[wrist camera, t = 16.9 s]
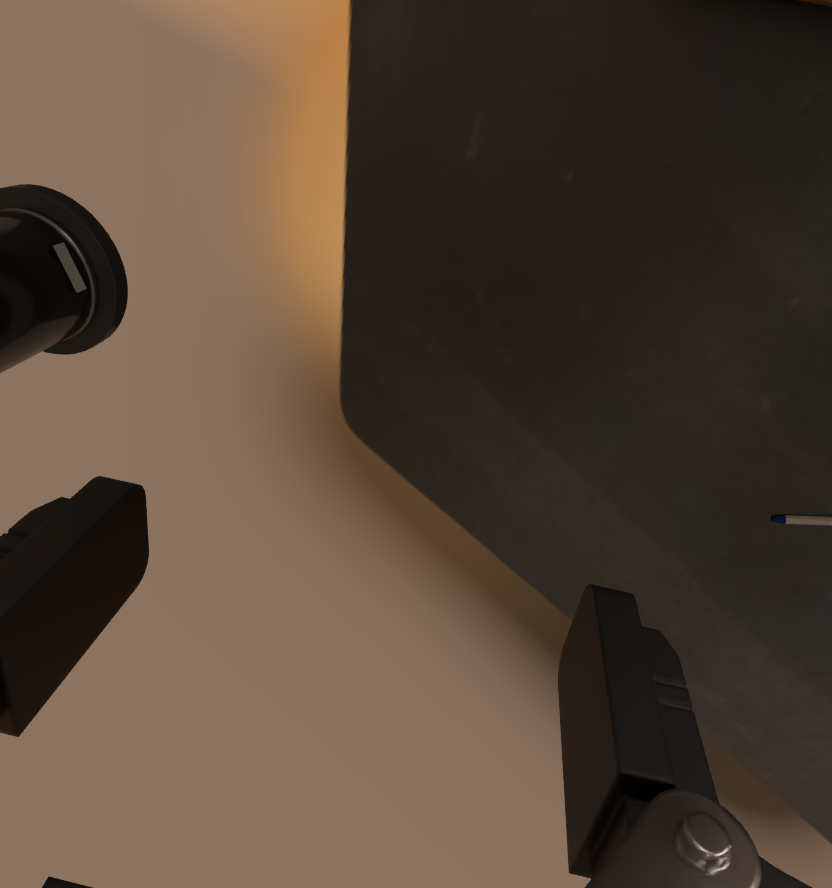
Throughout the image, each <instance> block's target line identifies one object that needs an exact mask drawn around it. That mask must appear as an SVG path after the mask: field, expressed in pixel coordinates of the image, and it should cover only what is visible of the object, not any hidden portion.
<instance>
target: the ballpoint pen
mask: <svg viewBox="0 0 832 888" xmlns="http://www.w3.org/2000/svg"><path fill="white" fill-rule="evenodd" d="M771 521H773V522H778V523H783V524H809V525H832V517H830V516H799V515H780V516H772V517H771Z"/></svg>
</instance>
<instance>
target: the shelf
mask: <svg viewBox="0 0 832 888" xmlns="http://www.w3.org/2000/svg"><path fill="white" fill-rule="evenodd" d="M797 1H803V2H809V3H815V4H821V5H827V6H832V0H797Z"/></svg>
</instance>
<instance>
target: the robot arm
mask: <svg viewBox="0 0 832 888" xmlns="http://www.w3.org/2000/svg"><path fill="white" fill-rule="evenodd" d="M98 303H99V287H98V281H97V276H96V273H95V270H94V268H93V265H92V263H91V261H90V259H89V257H88V255H87V253H86V251H85V250H84V248H83V247H82V246H81V244H80V243H79V242H78V240H77V239H76V238H75V237H74V236H73V235H72V234H71V233H70V232H69V231H68V230H67V229H66V228H65V227H64V226H63V225H61V224H60V223H59V222H57V221H56V220H54V219H53V218H51V217H49V216H48V215H45V214H43V213H41V212H38V211H36V210H32V209H29V208H22V207H11V208H5V209H1V210H0V373H2V372H3V371H5V370H7V369H9V368H11V367H13V366H15V365H16V364H19V363H20V362H23V361H24V360H26V359H28V358H30V357H32V356H34V355H36V354H38V353H40V352H42V351H44V350H46V349H48V348H49V347H51V346H53V345H55V344H57V343H59V342H61V341H64V340H67V339H70V338H72V337H74V336H76V335H77V334H79V333H81V332H82V331H84V330H85V329H86V328H87V327H88V326H89V325H90V323H91V322H92V320H93V319H94V317H95V314H96V312H97V308H98ZM148 557H149V544H148V527H147V509H146V495H145V490H144V488H143V487H142V486H141V485H138V484H134V483H129V482H125V481H120V480H116V479H111V478H106V477H102V476H98V477H95V478H94V479H92V480H91V481H90V482H88V483H87V484H86V485H85V486H84V487H83V488H82V489H81V490H79V491H78V493H76V494H75V495H74V496H73V497H72V498H70V499H68V498H64V497H61V498H58V499H56V500H54V501H52V502H49V503H47V504H45V505H43V506H41V507H38V508H36V509H34V510H32V511H30V512H29V513H28V514H27V515H26V516H24V517H23V518H22V519H21V520H19V521H18V522H17V523H16V524H15V525H14V526H13V527H11V528H10V529H9V531H8V533H7V534H3V535H2V536H0V733H4V734H8V735H12V736H17V737H19V736H20V734H21V733H22V732H23V731H24V729H25V728H26V727H27V726H28V724H29V723H30V722H31V721H32V719H33V718H34V717H35V715H36V714H37V713H38V712H39V710H40V709H41V708H42V707H43V705H44V704H45V703H46V702H47V700H48V699H49V698H50V697H51V695H52V694H53V693H54V691H55V690H56V689H57V687H58V686H59V685H60V684H61V682H62V681H63V680H64V679H65V678H66V676H67V675H68V674H69V672H70V671H71V670H72V669H73V667H74V666H75V665H76V664H77V662H78V661H79V660H80V659H81V657H82V656H83V655H84V653H85V652H86V651H87V649H88V648H89V647H90V646H91V645H92V643H93V642H94V641H95V640H96V638H97V637H98V636H99V635H100V633H101V632H102V631H103V629H104V628H105V627H106V626H107V624H108V623H109V622H110V621H111V619H112V618H113V617H114V615H115V614H116V613H117V612H118V610H119V609H120V608H121V607H122V605H123V604H124V603H125V602H126V600H127V599H128V598H129V596H130V595H131V594H132V593H133V592H134V590H135V589H136V588H137V586H138V585H139V583H140V581H141V580H142V578H143V575H144V573H145V570H146V567H147V563H148ZM685 685H686V682H685V678H684V675H683V671H682V667H681V664H680V660H679V657H678V655H677V654H676V652H675V651H674V650H673V648H672V647H671V645H670V644H669V643H668V641H667V640H666V638H665V637H664V636H663V634H662V633H661V632H660V630H656V629H651V628H647V627H642V626H641V622H640V618H639V613H638V609H637V604H636V600H635V597H634V595H633V594H632V593H628V592H623V591H618V590H614V589H609V588H605V587H600V586H595V585H591V584H589V585H588V586H587V587H586V588H585V590H584V592H583V595H582V597H581V600H580V603H579V605H578V608H577V611H576V614H575V616H574V619H573V622H572V625H571V627H570V630H569V632H568V635H567V638H566V641H565V644H564V646H563V650H562V653H561V658H560V664H559V672H558V691H559V707H560V725H561V743H562V761H563V778H564V794H565V811H566V812H565V813H566V829H567V847H568V864H569V873H571V874H575V875H579V876H583V877H587V878H591V880H590V882H589V883H588V884H587V886H586V887H585V888H812V887H810V886H808V885H806V884H805V883H803V882H801V881H799V880H797V879H796V878H794V877H792V876H790V875H788V874H786V873H784V872H783V871H781V870H779V869H777V868H776V867H774V866H773V865H771V864H769V863H768V862H767V861H765V860H764V859H763V858H761V857H760V856H759V855H758V852H757V850H756V847H755V845H754V843H753V841H752V839H751V838H750V836H749V834H748V833H747V831H746V830H745V829H744V828H743V826H742V825H741V823H740V822H739V821H738V820H737V819H736V818H735V817H734V816H733V815H732V814H731V813H730V812H729V811H728V810H726V809H725V808H724V807H723V806H721V805H720V804H719V801H718V798H717V795H716V791H715V787H714V784H713V780H712V776H711V773H710V770H709V765H708V762H707V758H706V755H705V751H704V747H703V744H702V740H701V736H700V733H699V729H698V726H697V722H696V718H695V715H694V712H693V711H691V708H692V704H691V700H690V697H689V693H688V689H686V688H685ZM42 888H92V887H88V886H84V885H80V884H76V883H72V882H68V881H64V880H60V879H57V878H53V877H48V879H47V880H46V882H45V884H44V885H43V887H42Z"/></svg>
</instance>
